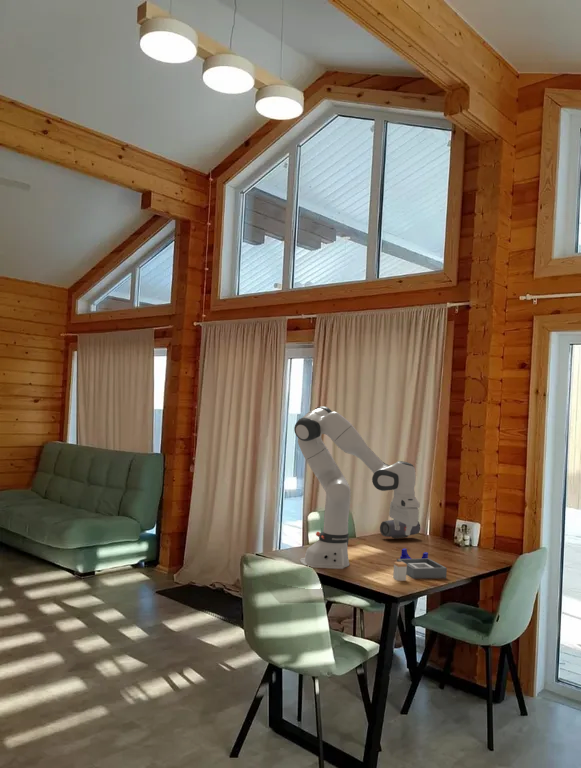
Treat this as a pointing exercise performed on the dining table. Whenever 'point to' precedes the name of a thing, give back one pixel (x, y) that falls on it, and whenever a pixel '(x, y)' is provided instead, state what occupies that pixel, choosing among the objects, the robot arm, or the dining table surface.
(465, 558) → the dining table surface
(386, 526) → the bluetooth speaker
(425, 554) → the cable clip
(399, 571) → the connector
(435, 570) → the storage box
